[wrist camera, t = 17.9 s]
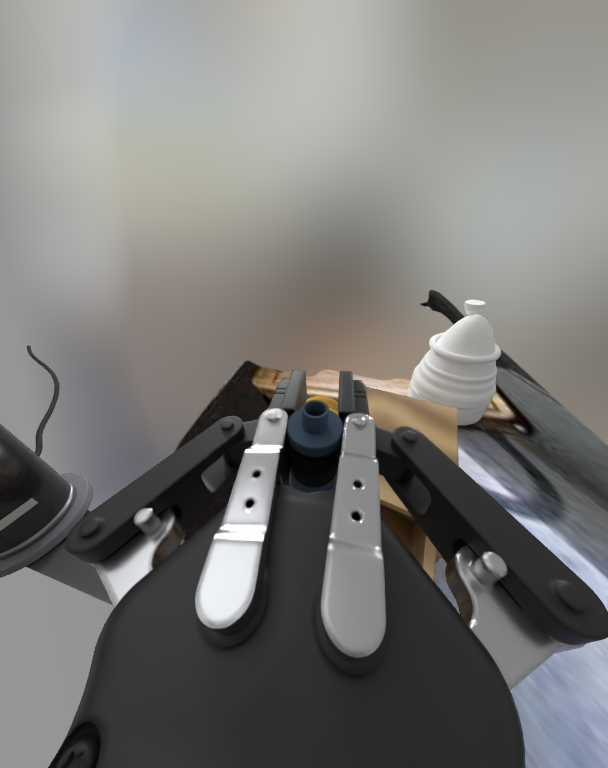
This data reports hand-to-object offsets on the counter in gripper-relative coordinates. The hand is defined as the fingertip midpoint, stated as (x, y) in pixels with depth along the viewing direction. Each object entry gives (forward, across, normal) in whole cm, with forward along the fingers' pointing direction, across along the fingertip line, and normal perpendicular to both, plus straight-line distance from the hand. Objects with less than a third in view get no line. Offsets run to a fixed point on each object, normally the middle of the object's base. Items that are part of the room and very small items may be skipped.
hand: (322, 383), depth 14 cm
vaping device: (-3, 0, -10) cm, 11 cm away
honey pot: (+26, +21, -22) cm, 40 cm away
